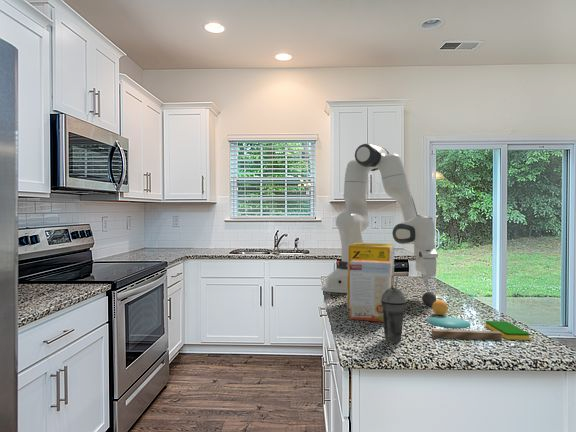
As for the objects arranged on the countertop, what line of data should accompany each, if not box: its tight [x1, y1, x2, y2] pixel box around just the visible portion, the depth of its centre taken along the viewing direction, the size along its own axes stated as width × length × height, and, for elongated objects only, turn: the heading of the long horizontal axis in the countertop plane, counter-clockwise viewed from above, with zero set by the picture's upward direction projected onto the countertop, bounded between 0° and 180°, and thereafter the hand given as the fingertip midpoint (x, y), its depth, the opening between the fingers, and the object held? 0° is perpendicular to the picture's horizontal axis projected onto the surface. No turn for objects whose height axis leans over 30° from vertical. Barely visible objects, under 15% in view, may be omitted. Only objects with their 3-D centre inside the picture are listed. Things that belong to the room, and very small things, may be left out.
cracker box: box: [349, 260, 391, 323], centre depth 142 cm, size 14×6×21 cm, turn 71°
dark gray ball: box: [421, 291, 437, 307], centre depth 164 cm, size 6×6×6 cm
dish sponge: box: [485, 320, 531, 341], centre depth 128 cm, size 7×14×2 cm, turn 179°
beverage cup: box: [381, 273, 407, 344], centre depth 119 cm, size 7×7×20 cm
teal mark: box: [426, 316, 471, 329], centre depth 139 cm, size 14×14×1 cm
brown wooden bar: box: [431, 328, 503, 341], centre depth 122 cm, size 20×2×2 cm, turn 85°
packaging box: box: [346, 242, 395, 309], centre depth 163 cm, size 16×16×25 cm
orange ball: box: [431, 299, 449, 316], centre depth 149 cm, size 6×6×6 cm
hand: (425, 284), depth 173 cm, fingers closed
